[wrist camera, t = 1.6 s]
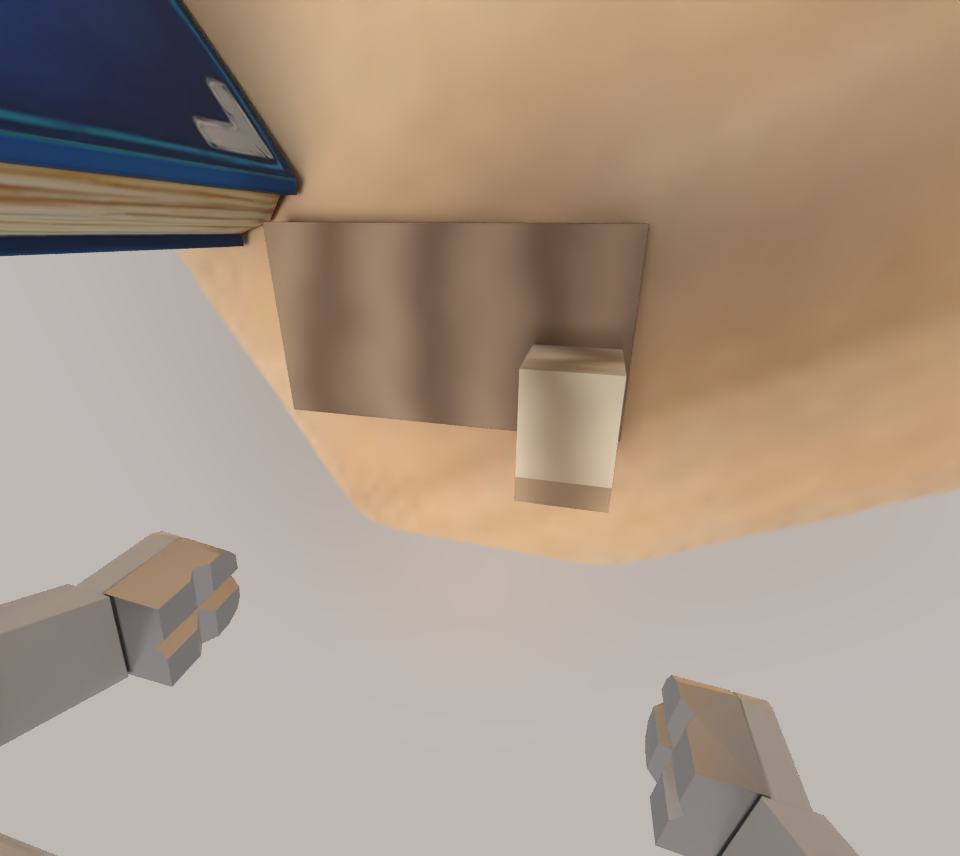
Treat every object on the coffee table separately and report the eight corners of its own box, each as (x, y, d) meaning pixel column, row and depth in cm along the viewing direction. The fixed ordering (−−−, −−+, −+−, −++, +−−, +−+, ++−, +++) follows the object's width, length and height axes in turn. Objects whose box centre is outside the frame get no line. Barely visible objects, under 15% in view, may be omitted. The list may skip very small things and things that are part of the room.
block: (621, 340, 28) (626, 376, 22) (607, 452, 31) (608, 512, 25) (537, 335, 29) (519, 368, 23) (532, 444, 32) (514, 500, 26)
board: (645, 223, 26) (649, 224, 24) (618, 425, 31) (619, 441, 29) (287, 221, 31) (262, 222, 28) (313, 397, 35) (294, 409, 33)
